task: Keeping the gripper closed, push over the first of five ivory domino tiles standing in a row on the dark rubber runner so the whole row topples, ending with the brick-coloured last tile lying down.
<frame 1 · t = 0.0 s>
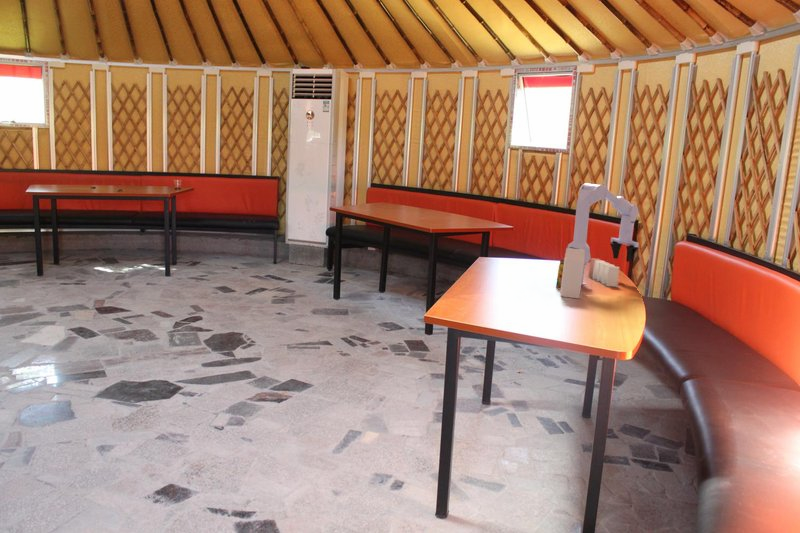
hand: (621, 260, 293), 10 cm above the table, tool pointing down, fingers open, 7 cm apart
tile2: (606, 283, 284), resting on runner
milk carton: (569, 296, 254), on the table
tile4: (597, 278, 294), resting on runner
crayon box: (564, 288, 269), on the table
runner: (601, 282, 289), on the table
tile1: (611, 285, 280), resting on runner
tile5: (593, 276, 298), resting on runner
tile3: (602, 281, 289), resting on runner
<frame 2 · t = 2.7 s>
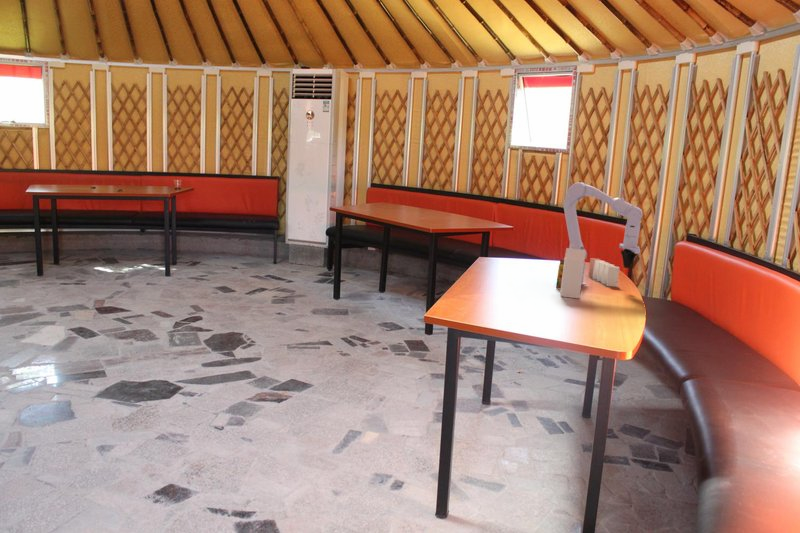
hand: (626, 267, 270), 10 cm above the table, tool pointing down, fingers closed
nothing on the table moved.
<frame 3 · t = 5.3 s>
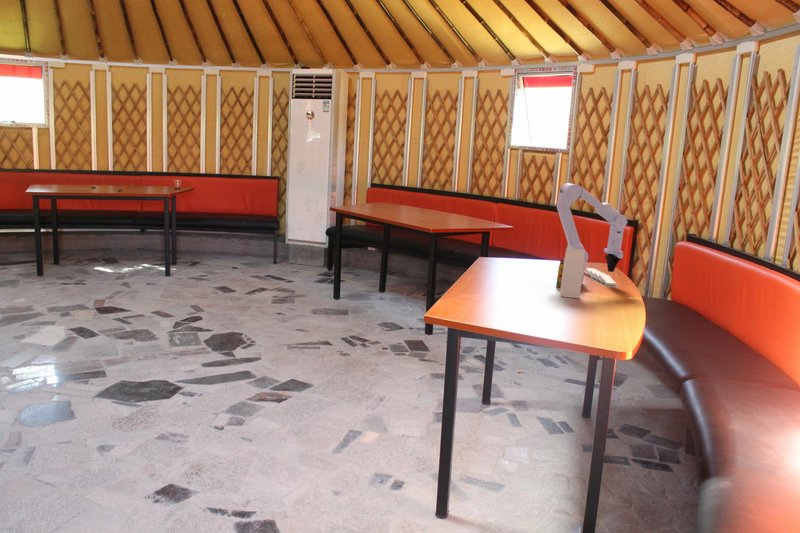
hand: (610, 271, 281), 6 cm above the table, tool pointing down, fingers closed
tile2: (606, 282, 285), point 1 cm above the table, tilted 76°, touching runner, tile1, tile3
tile4: (596, 277, 294), point 1 cm above the table, tilted 76°, touching runner, tile3, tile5
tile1: (611, 284, 280), point 1 cm above the table, tilted 76°, touching runner, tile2
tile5: (592, 274, 299), point 1 cm above the table, tilted 94°, touching runner, tile4
tile3: (601, 279, 289), point 1 cm above the table, tilted 76°, touching runner, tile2, tile4
everything else where it was.
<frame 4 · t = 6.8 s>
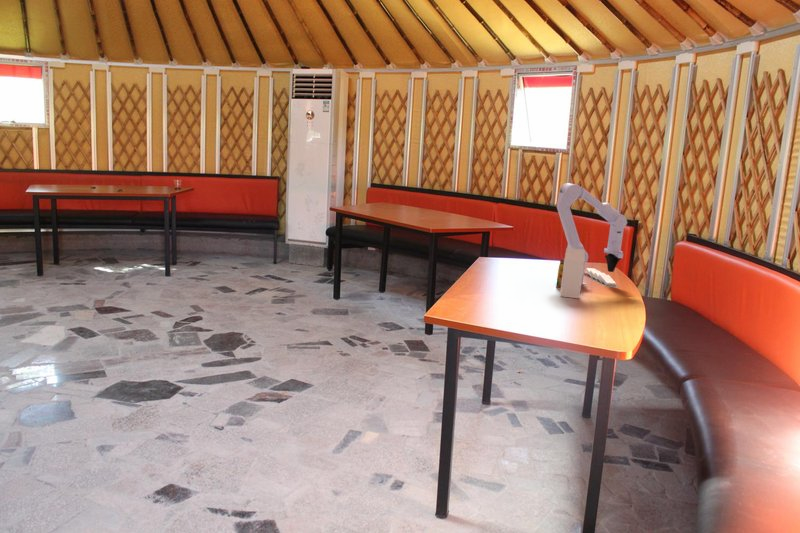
hand: (610, 271, 281), 6 cm above the table, tool pointing down, fingers closed
nothing on the table moved.
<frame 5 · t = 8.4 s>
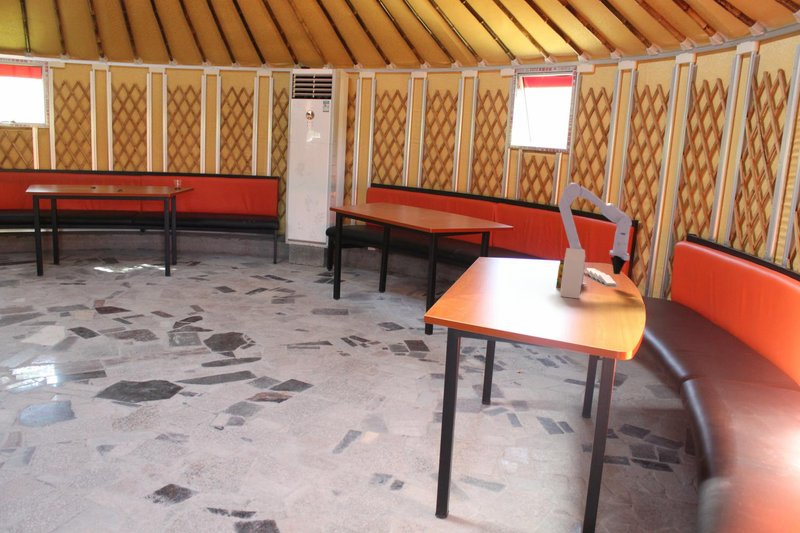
hand: (616, 274, 276), 6 cm above the table, tool pointing down, fingers closed
nothing on the table moved.
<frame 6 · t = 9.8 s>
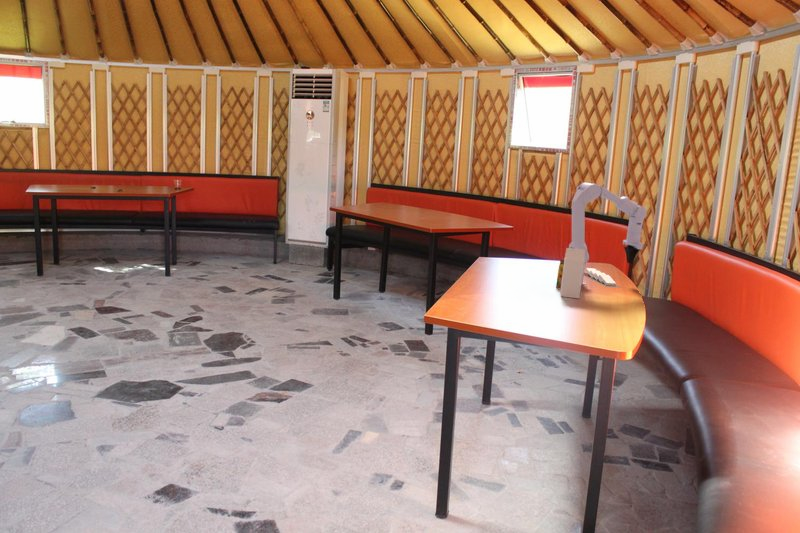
hand: (629, 262, 284), 10 cm above the table, tool pointing down, fingers closed
nothing on the table moved.
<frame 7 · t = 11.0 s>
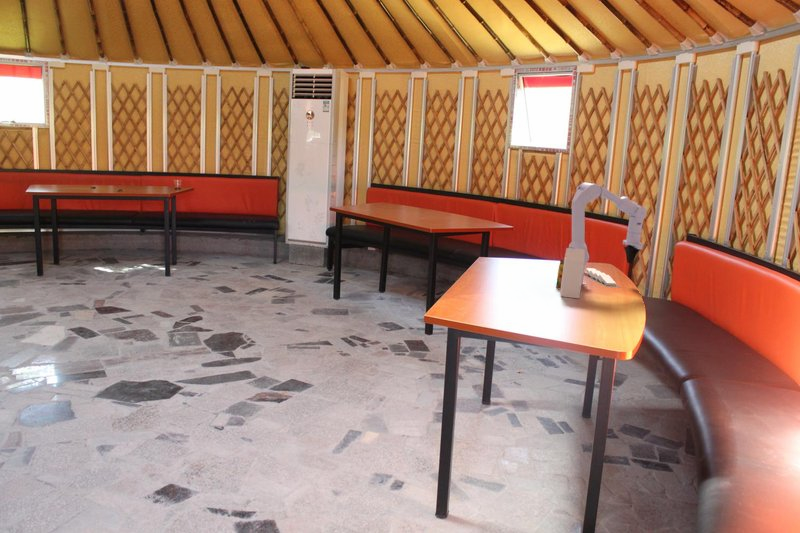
hand: (629, 262, 284), 10 cm above the table, tool pointing down, fingers closed
nothing on the table moved.
at the end: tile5 tilted 94°; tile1 tilted 76° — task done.
